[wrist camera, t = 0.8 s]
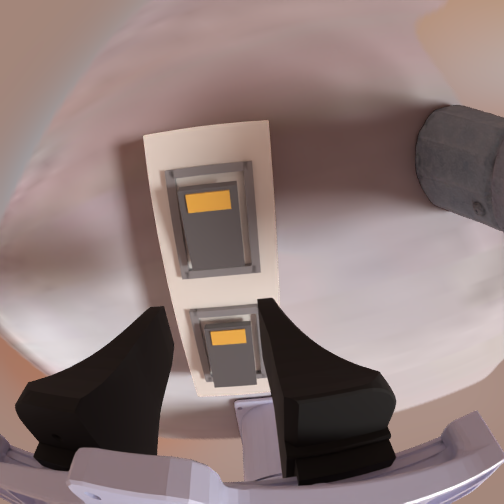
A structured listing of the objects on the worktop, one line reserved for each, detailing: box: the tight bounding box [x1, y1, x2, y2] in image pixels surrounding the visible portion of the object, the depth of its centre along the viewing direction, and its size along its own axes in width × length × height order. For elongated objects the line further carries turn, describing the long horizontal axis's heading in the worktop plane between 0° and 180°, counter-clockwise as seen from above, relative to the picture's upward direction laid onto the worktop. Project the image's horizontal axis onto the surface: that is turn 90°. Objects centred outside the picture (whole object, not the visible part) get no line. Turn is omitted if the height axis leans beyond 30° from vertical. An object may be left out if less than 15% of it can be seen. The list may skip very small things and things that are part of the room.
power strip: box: [143, 120, 280, 397], centre depth 20 cm, size 20×7×3 cm, turn 5°
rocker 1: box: [177, 181, 245, 270], centre depth 16 cm, size 5×3×1 cm, turn 4°
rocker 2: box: [204, 321, 257, 388], centre depth 20 cm, size 5×3×1 cm, turn 5°
